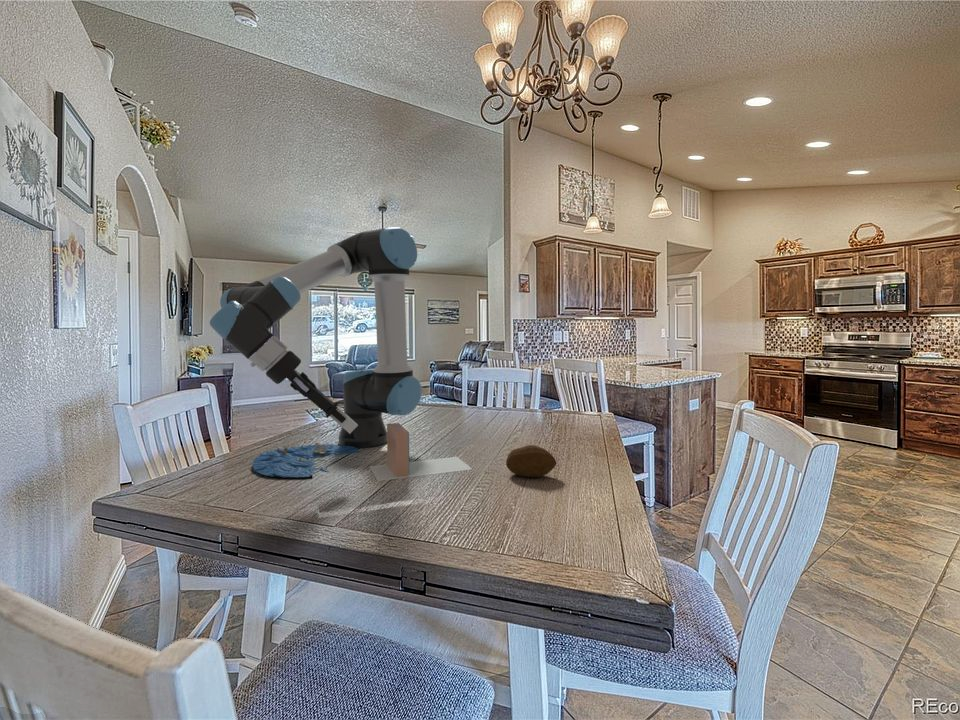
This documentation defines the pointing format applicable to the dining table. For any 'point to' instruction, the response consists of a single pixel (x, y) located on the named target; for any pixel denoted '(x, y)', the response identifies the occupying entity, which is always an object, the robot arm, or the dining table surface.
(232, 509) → the dining table surface
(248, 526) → the dining table surface
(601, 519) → the dining table surface
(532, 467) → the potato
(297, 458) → the decorative plate
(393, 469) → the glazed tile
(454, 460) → the grey rubber mat
